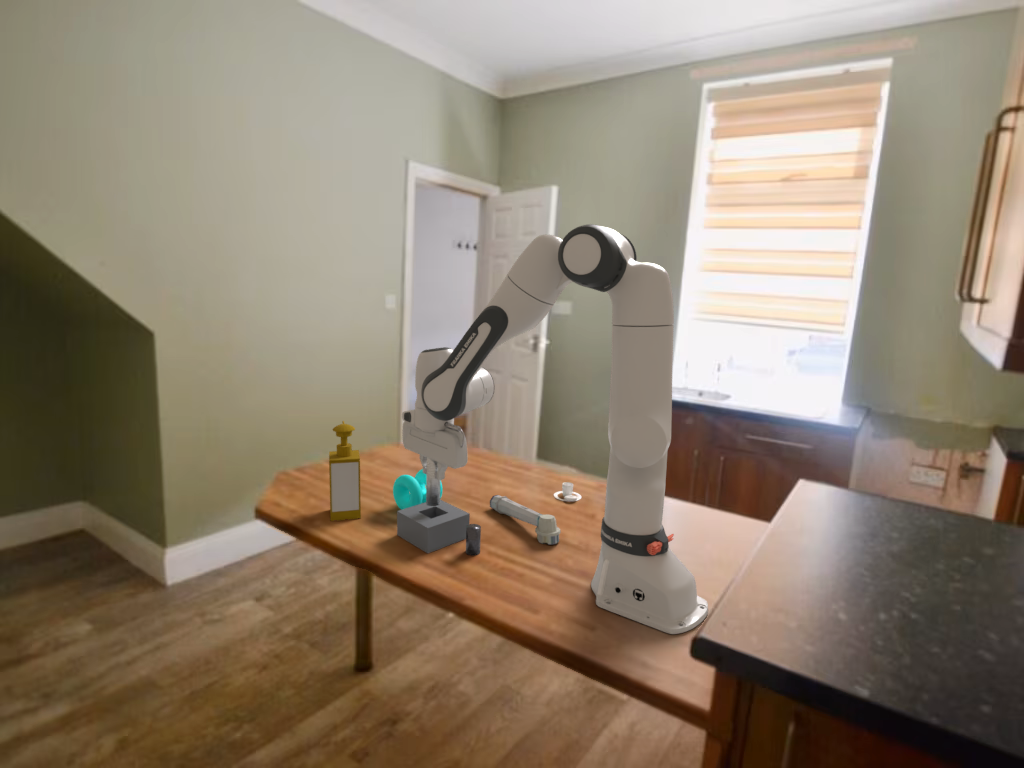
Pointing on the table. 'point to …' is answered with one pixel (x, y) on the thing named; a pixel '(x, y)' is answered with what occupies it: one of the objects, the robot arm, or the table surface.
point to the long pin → (432, 484)
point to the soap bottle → (344, 477)
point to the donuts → (411, 490)
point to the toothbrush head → (528, 518)
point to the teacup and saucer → (568, 493)
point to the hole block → (432, 525)
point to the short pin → (473, 539)
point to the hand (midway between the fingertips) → (433, 476)
